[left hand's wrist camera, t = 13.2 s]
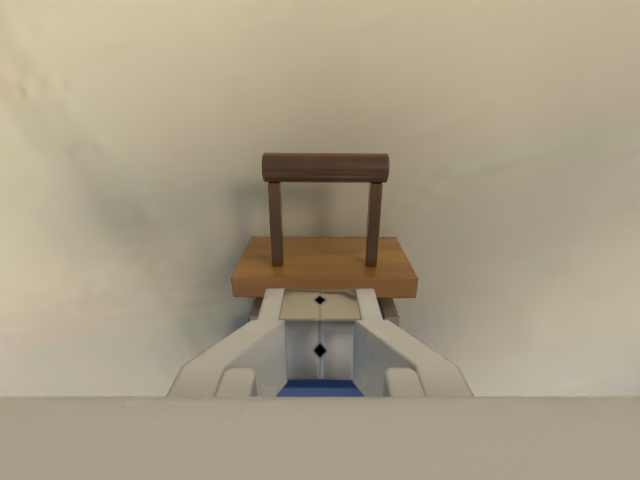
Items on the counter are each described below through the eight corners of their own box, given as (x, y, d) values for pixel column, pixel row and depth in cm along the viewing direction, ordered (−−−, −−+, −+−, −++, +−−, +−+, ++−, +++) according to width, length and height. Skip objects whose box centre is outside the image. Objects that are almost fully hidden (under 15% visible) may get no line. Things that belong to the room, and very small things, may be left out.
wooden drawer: (244, 142, 22) (218, 157, 16) (404, 143, 22) (433, 158, 16) (261, 375, 28) (246, 442, 23) (383, 376, 28) (398, 442, 23)
